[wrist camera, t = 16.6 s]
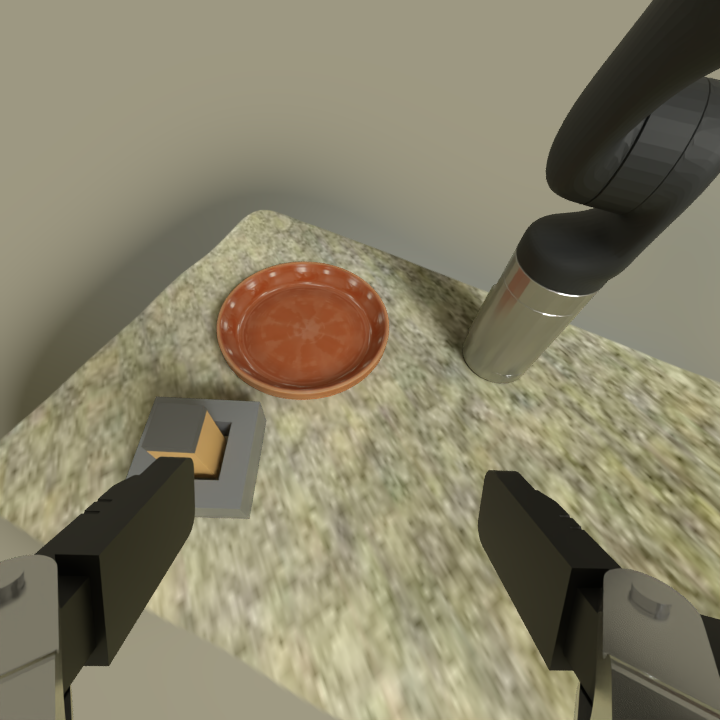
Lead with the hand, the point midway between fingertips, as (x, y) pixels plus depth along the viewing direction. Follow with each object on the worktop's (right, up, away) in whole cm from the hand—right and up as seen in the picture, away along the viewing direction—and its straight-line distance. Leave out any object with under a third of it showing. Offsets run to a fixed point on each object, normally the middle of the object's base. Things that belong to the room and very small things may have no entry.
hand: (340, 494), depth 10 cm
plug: (-16, -7, +29) cm, 34 cm away
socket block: (-16, -8, +30) cm, 35 cm away
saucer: (-7, +7, +41) cm, 43 cm away
